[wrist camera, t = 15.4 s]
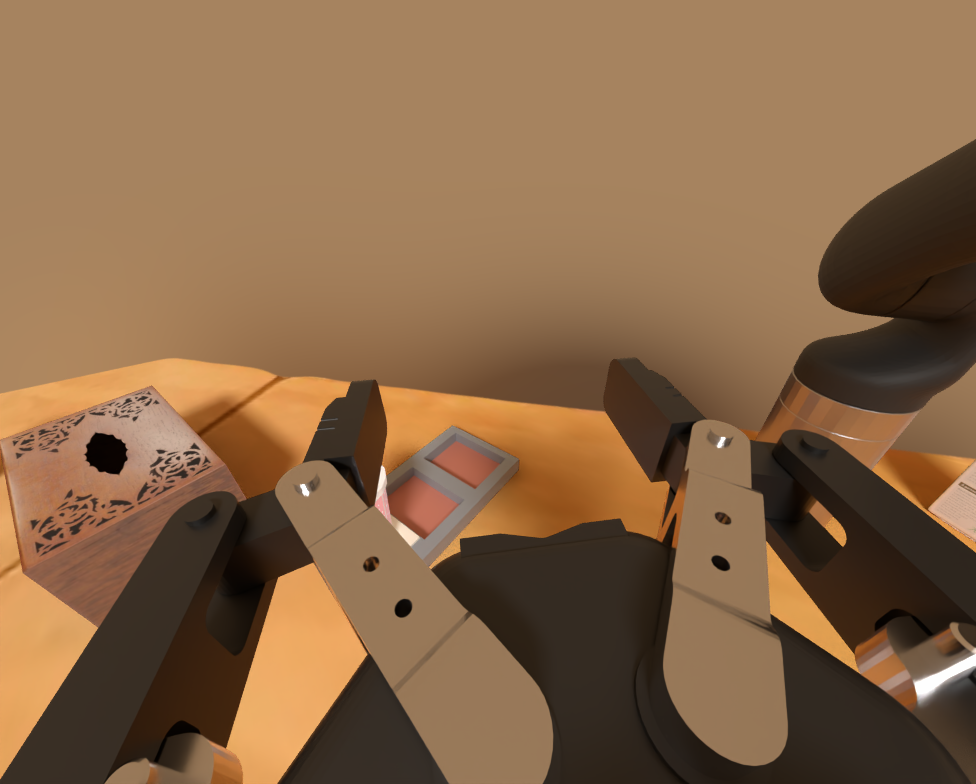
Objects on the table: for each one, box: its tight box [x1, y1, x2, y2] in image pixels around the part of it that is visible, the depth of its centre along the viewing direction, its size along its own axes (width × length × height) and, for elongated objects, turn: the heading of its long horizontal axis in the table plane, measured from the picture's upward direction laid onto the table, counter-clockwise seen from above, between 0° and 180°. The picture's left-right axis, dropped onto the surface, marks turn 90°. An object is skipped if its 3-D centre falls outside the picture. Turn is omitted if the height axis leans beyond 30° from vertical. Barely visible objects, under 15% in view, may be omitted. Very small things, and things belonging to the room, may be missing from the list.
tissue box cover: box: [0, 386, 246, 628], centre depth 42 cm, size 26×14×10 cm, turn 52°
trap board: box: [386, 425, 519, 567], centre depth 43 cm, size 23×12×2 cm, turn 142°
